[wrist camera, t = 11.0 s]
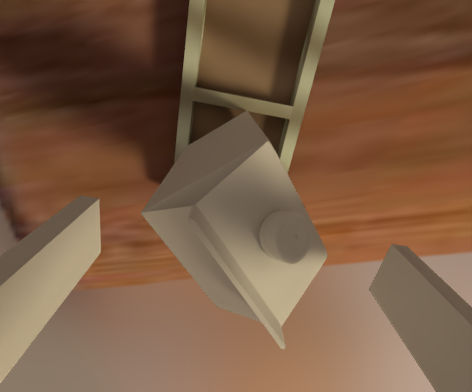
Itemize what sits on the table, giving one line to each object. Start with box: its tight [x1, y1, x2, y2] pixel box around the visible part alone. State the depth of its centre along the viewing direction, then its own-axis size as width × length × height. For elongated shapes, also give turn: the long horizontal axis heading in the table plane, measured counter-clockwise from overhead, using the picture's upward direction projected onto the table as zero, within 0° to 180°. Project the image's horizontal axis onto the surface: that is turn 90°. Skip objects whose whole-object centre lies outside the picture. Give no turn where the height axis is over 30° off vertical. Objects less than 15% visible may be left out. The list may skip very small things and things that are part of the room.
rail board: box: [174, 0, 335, 174], centre depth 26 cm, size 23×12×3 cm, turn 169°
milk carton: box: [141, 111, 327, 349], centre depth 18 cm, size 7×7×19 cm
